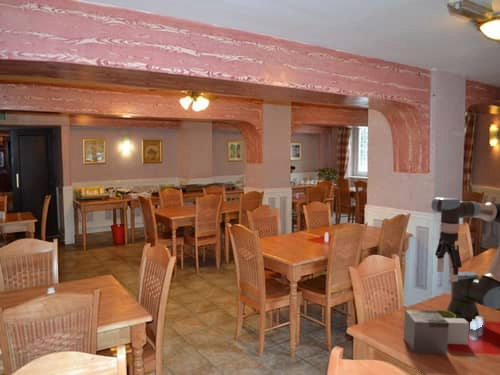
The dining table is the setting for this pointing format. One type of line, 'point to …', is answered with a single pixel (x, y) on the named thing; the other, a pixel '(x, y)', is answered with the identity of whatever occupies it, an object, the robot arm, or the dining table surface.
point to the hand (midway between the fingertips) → (446, 276)
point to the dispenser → (426, 332)
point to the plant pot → (446, 314)
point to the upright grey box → (457, 331)
